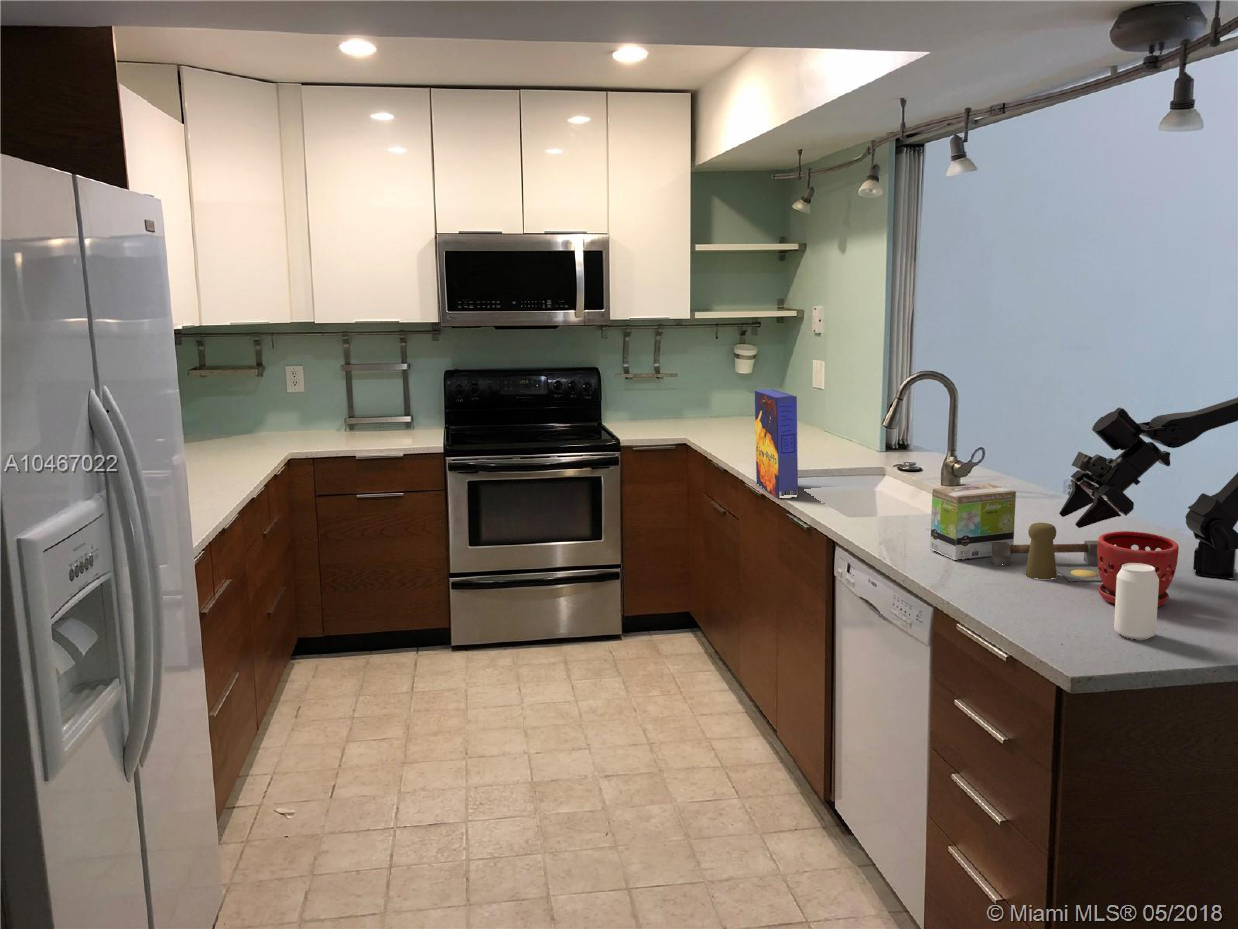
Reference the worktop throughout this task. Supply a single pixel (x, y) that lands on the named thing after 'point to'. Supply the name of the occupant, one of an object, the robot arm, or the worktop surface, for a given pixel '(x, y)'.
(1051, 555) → the cork
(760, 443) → the cereal box
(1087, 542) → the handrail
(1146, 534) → the plant pot
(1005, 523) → the tea box
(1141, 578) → the beverage can
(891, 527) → the worktop surface
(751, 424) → the worktop surface
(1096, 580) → the pad
